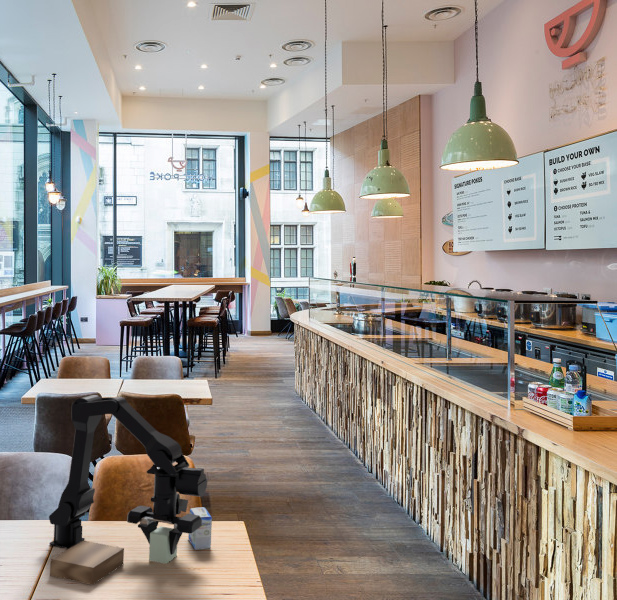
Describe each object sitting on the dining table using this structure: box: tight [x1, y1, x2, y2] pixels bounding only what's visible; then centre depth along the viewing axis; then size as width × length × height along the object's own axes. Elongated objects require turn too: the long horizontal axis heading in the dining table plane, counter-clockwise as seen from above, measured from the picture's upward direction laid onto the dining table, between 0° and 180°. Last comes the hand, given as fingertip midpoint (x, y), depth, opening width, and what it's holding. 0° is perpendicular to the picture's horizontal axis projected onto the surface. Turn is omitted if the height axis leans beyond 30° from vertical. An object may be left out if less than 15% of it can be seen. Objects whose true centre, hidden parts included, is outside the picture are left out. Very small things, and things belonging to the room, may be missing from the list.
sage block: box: [148, 525, 178, 565], centre depth 162 cm, size 5×5×7 cm
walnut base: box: [49, 540, 125, 586], centre depth 154 cm, size 12×12×4 cm
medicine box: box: [188, 507, 213, 551], centre depth 172 cm, size 8×4×9 cm, turn 23°
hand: (163, 552), depth 162 cm, fingers closed on sage block, 5 cm apart
